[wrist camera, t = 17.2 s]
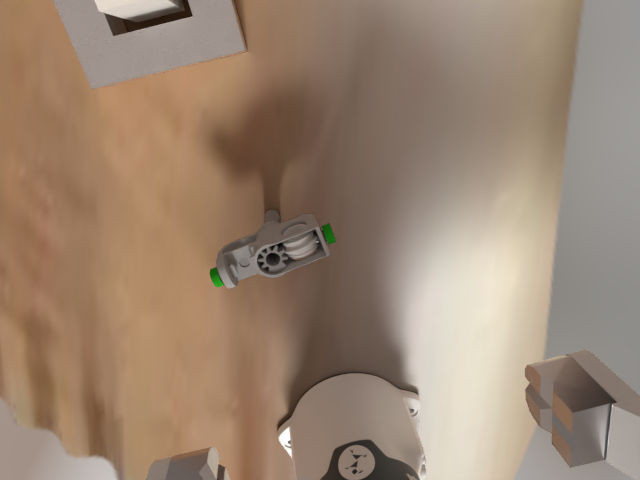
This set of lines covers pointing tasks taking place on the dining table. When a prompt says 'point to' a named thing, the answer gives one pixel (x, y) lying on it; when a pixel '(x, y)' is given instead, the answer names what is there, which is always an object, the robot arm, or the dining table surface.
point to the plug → (139, 8)
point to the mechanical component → (272, 249)
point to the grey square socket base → (149, 40)
